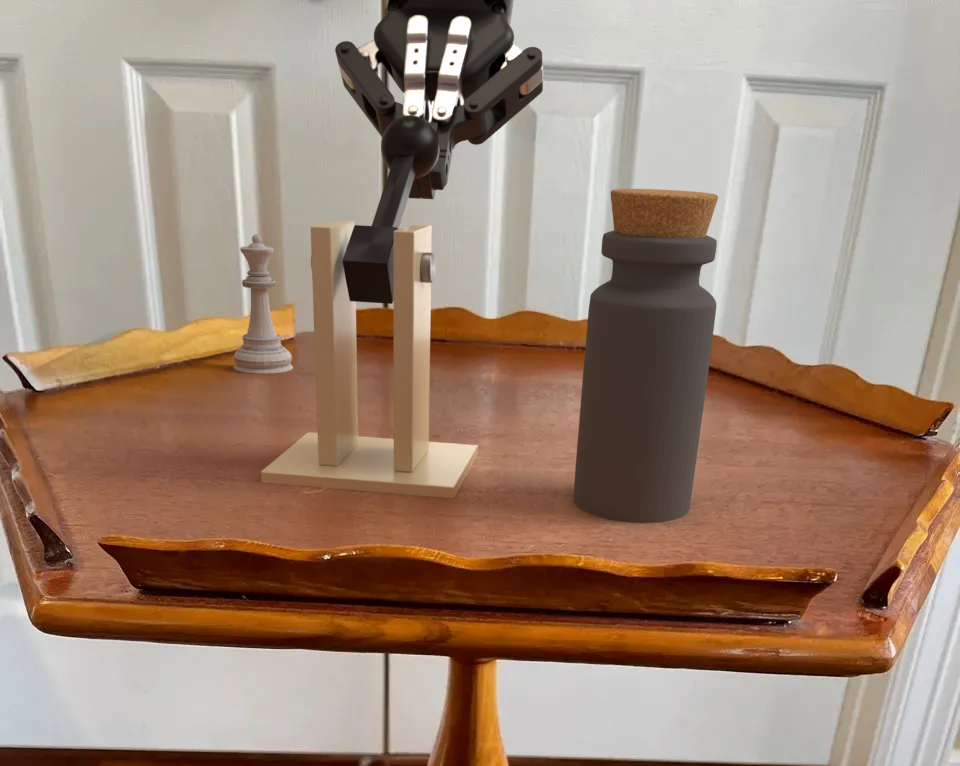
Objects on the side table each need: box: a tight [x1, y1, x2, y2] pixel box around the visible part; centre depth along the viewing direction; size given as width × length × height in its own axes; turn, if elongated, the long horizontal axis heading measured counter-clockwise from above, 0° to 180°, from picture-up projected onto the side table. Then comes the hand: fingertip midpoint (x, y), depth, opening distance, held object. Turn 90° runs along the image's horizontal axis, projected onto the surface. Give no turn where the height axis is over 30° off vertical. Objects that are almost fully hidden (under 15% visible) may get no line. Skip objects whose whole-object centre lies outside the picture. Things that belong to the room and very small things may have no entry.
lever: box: [342, 115, 440, 305], centre depth 53 cm, size 13×3×3 cm
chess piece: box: [233, 234, 294, 375], centre depth 75 cm, size 4×4×10 cm
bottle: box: [572, 188, 719, 524], centre depth 48 cm, size 6×6×15 cm
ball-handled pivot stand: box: [260, 219, 479, 499], centre depth 53 cm, size 8×10×13 cm
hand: (419, 188), depth 58 cm, fingers closed
